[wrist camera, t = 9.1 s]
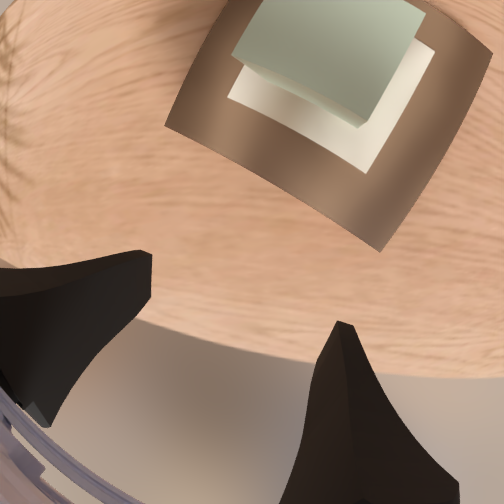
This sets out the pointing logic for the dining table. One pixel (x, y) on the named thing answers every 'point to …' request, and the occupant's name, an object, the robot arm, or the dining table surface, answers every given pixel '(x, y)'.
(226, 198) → the dining table surface
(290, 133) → the base
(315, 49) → the cube
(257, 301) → the dining table surface
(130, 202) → the dining table surface
